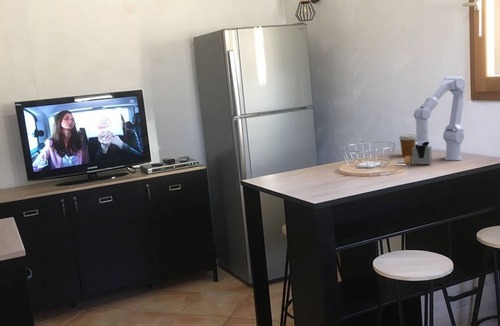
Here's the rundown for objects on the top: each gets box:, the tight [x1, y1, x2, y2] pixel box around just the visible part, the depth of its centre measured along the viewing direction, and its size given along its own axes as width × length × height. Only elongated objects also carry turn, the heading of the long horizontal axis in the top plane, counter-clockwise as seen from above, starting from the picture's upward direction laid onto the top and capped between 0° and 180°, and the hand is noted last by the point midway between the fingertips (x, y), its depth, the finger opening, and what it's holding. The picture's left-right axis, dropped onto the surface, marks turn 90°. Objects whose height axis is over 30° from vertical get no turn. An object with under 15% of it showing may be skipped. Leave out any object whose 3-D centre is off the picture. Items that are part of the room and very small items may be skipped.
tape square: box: [395, 161, 414, 167], centre depth 284 cm, size 8×8×1 cm
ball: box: [403, 156, 413, 164], centre depth 283 cm, size 4×4×4 cm
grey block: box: [412, 145, 433, 164], centre depth 279 cm, size 6×9×8 cm
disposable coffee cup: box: [398, 133, 417, 158], centre depth 303 cm, size 10×10×12 cm
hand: (422, 156), depth 279 cm, fingers closed on grey block, 6 cm apart
